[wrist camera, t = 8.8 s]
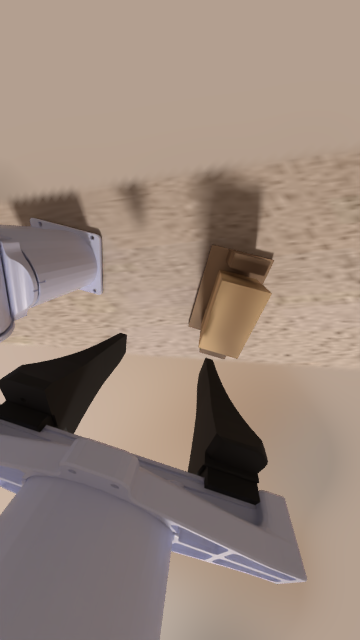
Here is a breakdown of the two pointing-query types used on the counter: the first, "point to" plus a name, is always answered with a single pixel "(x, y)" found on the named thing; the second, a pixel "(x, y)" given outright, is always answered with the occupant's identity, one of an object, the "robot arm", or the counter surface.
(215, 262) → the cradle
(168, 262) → the counter surface
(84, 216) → the counter surface
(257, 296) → the block
